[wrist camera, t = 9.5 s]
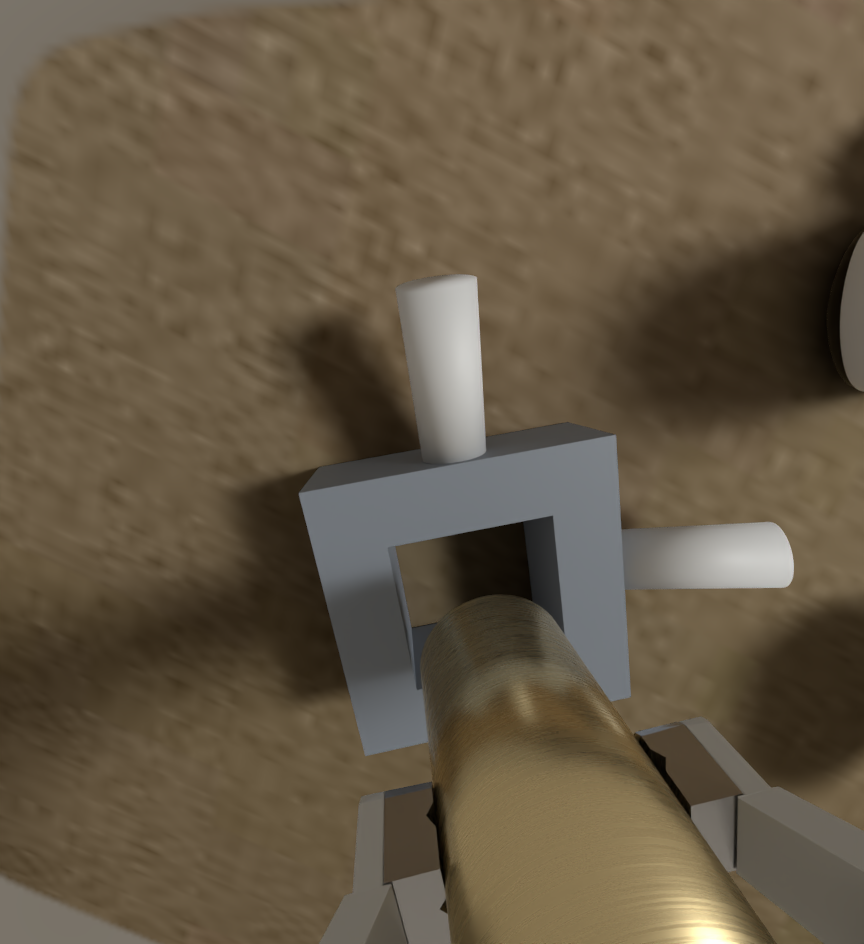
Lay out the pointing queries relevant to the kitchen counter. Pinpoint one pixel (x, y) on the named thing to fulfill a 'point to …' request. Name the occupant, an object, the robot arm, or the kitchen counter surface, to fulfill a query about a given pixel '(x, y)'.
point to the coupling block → (495, 524)
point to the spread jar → (848, 315)
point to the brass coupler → (557, 799)
